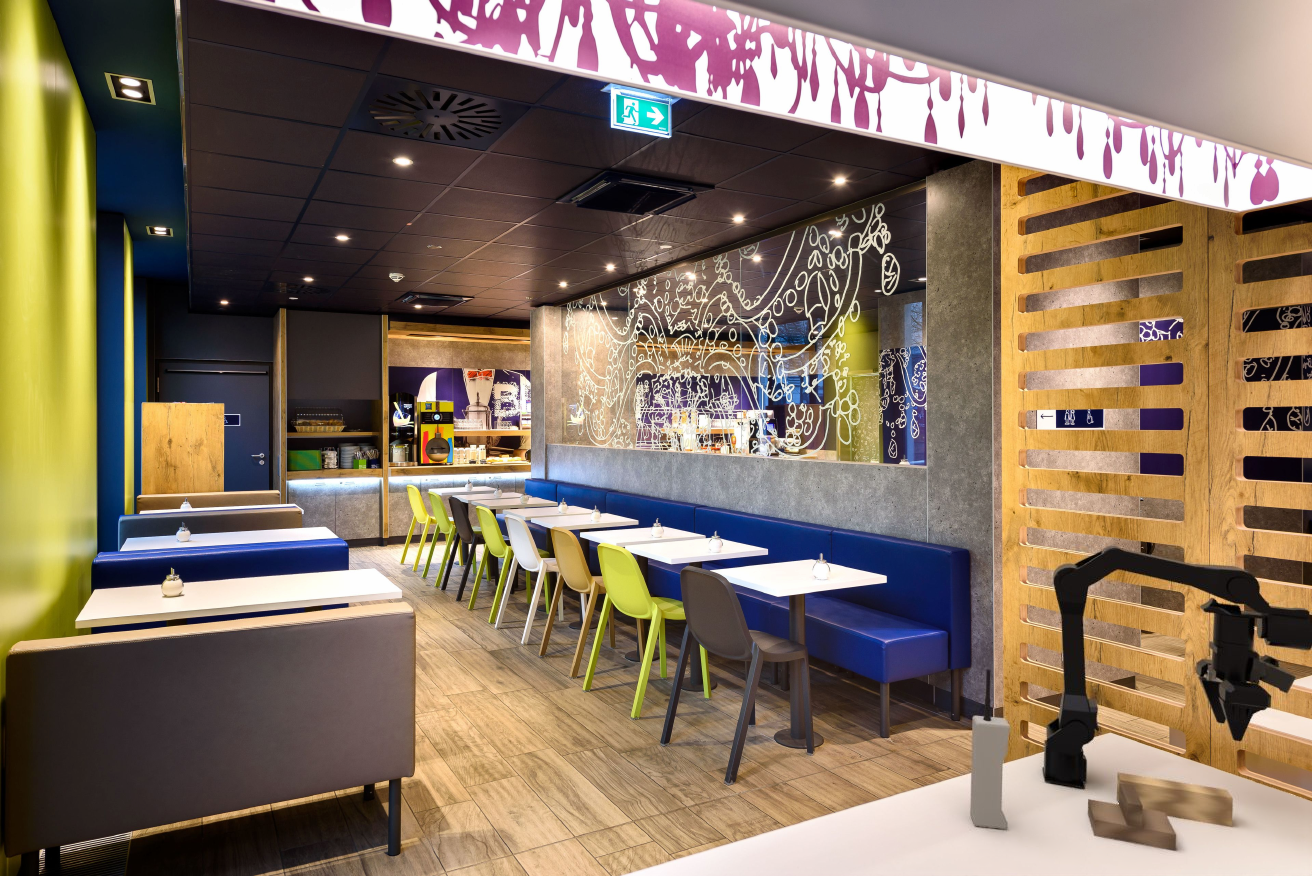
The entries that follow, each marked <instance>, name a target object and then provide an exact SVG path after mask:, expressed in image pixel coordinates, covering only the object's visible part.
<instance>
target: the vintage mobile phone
mask: <svg viewBox="0 0 1312 876" xmlns="http://www.w3.org/2000/svg"><path fill="white" fill-rule="evenodd" d="M985 677H986V678H985V679H986V680H985V698H984V714H983V716H982V715H973V716H972V722H971V724H972V725H971V726H972V731H971V732H972V733H971V735H972V736H971V765H970V766H971V768H970V770H971V771H970V773H971V775H970V810H969V811H970V813H969V814H970V817H971V820H972V822H973V824H974V826H975V827H977V826H979V828H986V827H988V829H994V828H1000V829H999V830H1003V829H1006V830H1008V821H1007V819H1006V816H1005V814H1004V812H1003V810H1002V807H1003V765H1004V761H1005V758H1006V757H1007V755H1008V754H1007V753H1008V745H1009V738H1010V730H1011V729H1010V728H1011V725H1010V724H1009V722H1008V721H1007V719H1006V718H1005V717H995V716H994V717H993V716H991V702H992V701H991V669H989V668H987V669H986V676H985Z"/></svg>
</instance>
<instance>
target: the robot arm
mask: <svg viewBox="0 0 1312 876" xmlns="http://www.w3.org/2000/svg"><path fill="white" fill-rule="evenodd" d="M1116 571H1123V572H1128V573H1133V574H1135V575H1136V574H1137V575H1141V576H1146V577H1149V578H1154V579H1158V580H1163V581H1167V582H1171V583H1176V584H1181V585H1183V586H1184V585H1185V586H1189V587H1192V588H1195V589H1197V590H1200V591H1202V592H1205V593H1207V594H1210V595H1212V596H1214V597H1217V598H1219V599H1222V600H1224V601H1227V602H1230V603H1222V602H1218V601H1217V600H1216V598H1214V597H1211V598H1209V600H1207V601H1206V602H1204V603H1202V604H1201V605H1200V609H1201V610H1202V611H1203V612H1205V613H1207V614H1208V613H1209V614H1213V625H1212V641H1208V648H1210V649H1211V659H1207V658H1201V659H1200V660H1199V661H1197V662H1196V663H1195V664H1196V666H1195V674H1196V675H1197V678H1198V681H1199V683H1200V685H1201V687H1202V689H1203V692H1204V694H1205V696H1206V698H1207V701H1208V704H1209V706H1210V708H1211V711H1212V714H1213V716H1214V719H1215V721H1216V722H1217V723H1218V724H1225V723H1227V727H1228V729H1229V731H1230V734H1231V737H1232V740H1233V741H1235V742H1242V741H1243V738H1244V736H1245V733H1246V731H1247V729H1248V727H1249V725H1250V722H1251V720H1252V719H1253V717H1254V715H1255V714H1257V713H1258V712H1260V711H1266V710H1267V709H1269V708H1271V707H1272V695H1271V694H1270V693H1269V692H1268V690H1266V689H1265V688H1264V687H1262V686H1261V685H1260V682H1263V683H1265V684H1267V685H1270V686H1271V687H1274V688H1276V689H1278V690H1279V691H1280V692H1282V693H1285V694H1288V693H1289V691H1290V690H1291V688H1292V686H1293V684H1294V682H1295V680H1296V679H1297V676H1296V675H1294V674H1293V673H1292V672H1290V671H1288V670H1286V669H1285V668H1283V667H1280V663H1279V660H1278V659H1277V658H1275V657H1273V656H1270V655H1268V654H1264V655H1263V656H1261V655H1260V654H1259V653H1258V651H1256V650H1255V648H1254V647H1255V630H1256V634H1257V638H1258V639H1261V640H1264V643H1265V645H1266V646H1269V647H1279V648H1287V649H1294V650H1301V651H1311V649H1312V622H1311V619H1310V611H1309V609H1306V608H1305V607H1304V608H1303V607H1284V606H1273V605H1270V602H1268V601H1267V600H1266V599H1265V598H1264V597H1263V596H1262V594H1261V593H1260V590H1261V589H1260V588H1261V586H1260V583H1259V580H1258V579H1257V578H1256V577H1255V575H1253V574H1252V573H1250V572H1249V571H1247V570H1245V569H1243V568H1241V567H1238V566H1233V565H1223V564H1221V565H1220V564H1198V563H1197V564H1195V563H1189V562H1185V561H1180V560H1176V559H1171V558H1167V557H1162V556H1157V555H1152V554H1147V553H1144V552H1139V551H1135V550H1129V549H1125V548H1123V547H1122V548H1121V547H1120V546H1117V545H1109V546H1106V547H1104V548H1103V549H1102V550H1100V551H1098V552H1096V553H1094V554H1091V555H1089V556H1087V557H1085V558H1083V559H1081V560H1079V561H1078V562H1075V563H1071V562H1070V563H1069V562H1068V563H1063V564H1061V565H1058V566H1057V567H1056V568H1055V570H1054V571H1053V575H1052V583H1053V588H1054V591H1055V596H1056V601H1057V604H1058V607H1059V608H1058V609H1059V612H1060V622H1061V644H1062V645H1061V646H1062V647H1061V648H1062V650H1061V651H1062V669H1063V670H1062V671H1063V674H1062V675H1063V689H1062V690H1063V691H1062V694H1061V700H1060V706H1059V711H1058V712H1059V713H1058V716H1057V717H1056V718H1055V719H1054V720H1052V721H1050V722H1049V723H1047V724H1046V725H1045V726H1046V727H1045V728H1046V729H1045V730H1046V739H1045V740H1043V741H1044V743H1043V745H1044V746H1043V766H1042V767H1041V768H1042V770H1041V771H1042V774H1043V780H1044V782H1046V783H1050V784H1057V785H1063V786H1068V787H1073V788H1078V789H1079V788H1081V789H1085V787H1086V786H1085V783H1086V782H1087V773H1088V759H1087V756H1086V755H1085V754H1084V753H1085V752H1084V749H1083V747H1084V746H1085V745H1088V744H1089V743H1091V742H1092V741H1093V740H1094V738H1095V736H1096V731H1098V732H1099V731H1100V726H1099V722H1098V714H1099V713H1098V712H1099V707H1098V706H1099V705H1098V704H1097V703H1098V702H1097V699H1096V698H1088V693H1087V684H1086V683H1087V682H1086V679H1087V678H1086V660H1085V658H1086V657H1085V634H1084V631H1085V630H1084V616H1085V615H1084V614H1085V610H1086V604H1087V599H1088V598H1087V597H1088V594H1089V593H1088V592H1089V587H1091V586H1092V585H1094V584H1096V583H1098V582H1100V581H1101V580H1103V579H1104V578H1106V577H1107V576H1109V575H1111V574H1112V573H1114V572H1116ZM1231 603H1232V604H1231ZM1239 605H1246V606H1247V607H1249V608H1250V609H1252V610H1254V611H1246V610H1241V607H1240V606H1239ZM1256 620H1257V621H1256ZM1255 628H1256V629H1255ZM1260 656H1261V657H1260Z"/></svg>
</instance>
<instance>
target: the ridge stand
mask: <svg viewBox="0 0 1312 876" xmlns="http://www.w3.org/2000/svg"><path fill="white" fill-rule="evenodd" d="M1087 815H1088V820H1089V822H1090V825H1091V828H1092V832H1093V836H1095V837H1101V838H1108V839H1111V840H1112V839H1113V840H1117V841H1122V842H1123V841H1124V842H1128V843H1134V844H1138V845H1144V846H1150V847H1155V848H1160V849H1165V850H1171V851H1176V849H1177V846H1176V845H1177V833H1176V832H1175V829H1174V828H1173V825H1172V823H1171V822H1170V820H1169V818H1168V816H1166V814H1165V812H1160V811H1154V810H1148V809H1143V805H1142V803H1141V801H1140V799H1139V797H1138V795H1137V792H1136V790H1135V788H1134V786H1133V785H1127V784H1121V783H1119V804H1118V803H1112V802H1107V801H1102V800H1097V799H1096V800H1095V799H1090V798H1088V799H1087Z"/></svg>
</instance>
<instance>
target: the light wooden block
mask: <svg viewBox="0 0 1312 876" xmlns="http://www.w3.org/2000/svg"><path fill="white" fill-rule="evenodd" d="M1116 777H1117V781H1116V801H1117V804H1118V803H1119V783H1121V784H1127V785H1133V786H1134V788H1135V790H1136V792H1137V795H1138V797H1139V799H1140V801H1141V803H1142V805H1143V809H1148V810H1154V811H1160V812H1165V814H1166V816H1167V817H1170V818H1176V819H1183V820H1187V821H1193V822H1200V823H1205V824H1211V825H1215V826H1216V825H1217V826H1222V827H1228V828H1233V810H1234V809H1233V807H1234V804H1233V803H1234V798H1233V796H1232V795H1231V794H1230V793H1229V791H1228V790H1227V789H1223V788H1219V787H1218V788H1216V787H1212V786H1211V787H1210V786H1205V785H1201V784H1200V785H1198V784H1193V783H1186V782H1180V781H1175V780H1173V781H1172V780H1168V779H1167V780H1166V779H1161V778H1156V777H1155V778H1154V777H1150V776H1143V775H1136V774H1130V773H1124V772H1123V773H1122V772H1117V776H1116Z"/></svg>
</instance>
